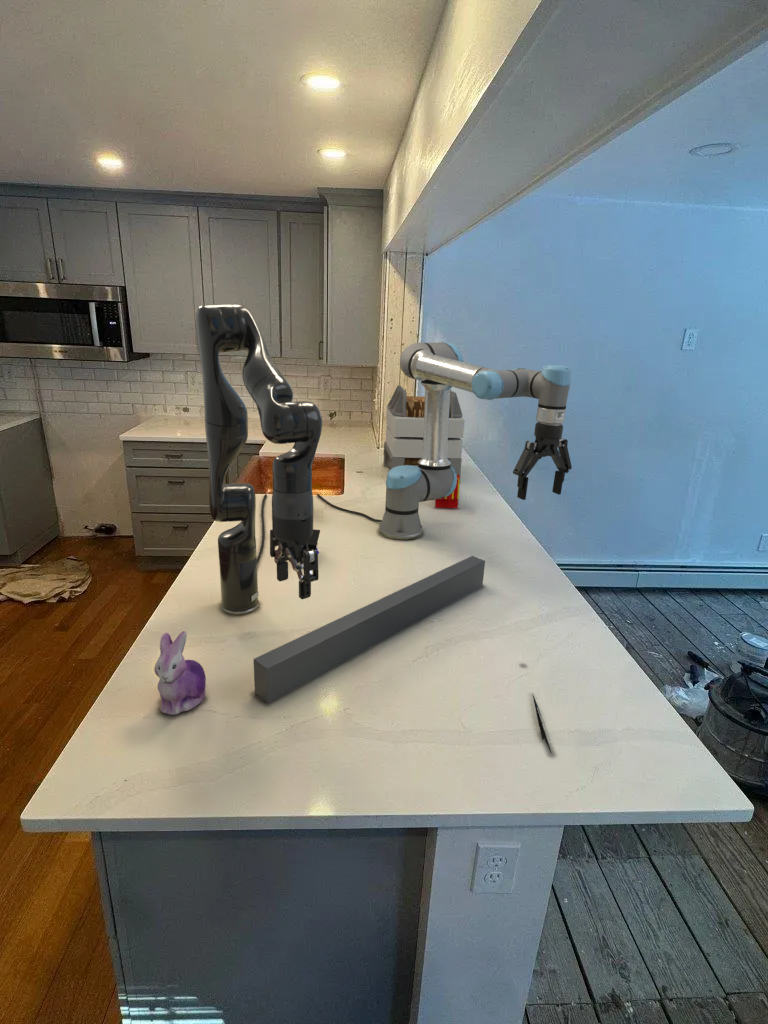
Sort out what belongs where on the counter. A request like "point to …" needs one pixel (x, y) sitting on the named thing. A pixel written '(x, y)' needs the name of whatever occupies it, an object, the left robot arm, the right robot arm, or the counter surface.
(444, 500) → the toy
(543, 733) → the feather
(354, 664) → the counter surface
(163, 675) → the figurine
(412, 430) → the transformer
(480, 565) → the beam
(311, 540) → the figurine character
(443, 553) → the counter surface
